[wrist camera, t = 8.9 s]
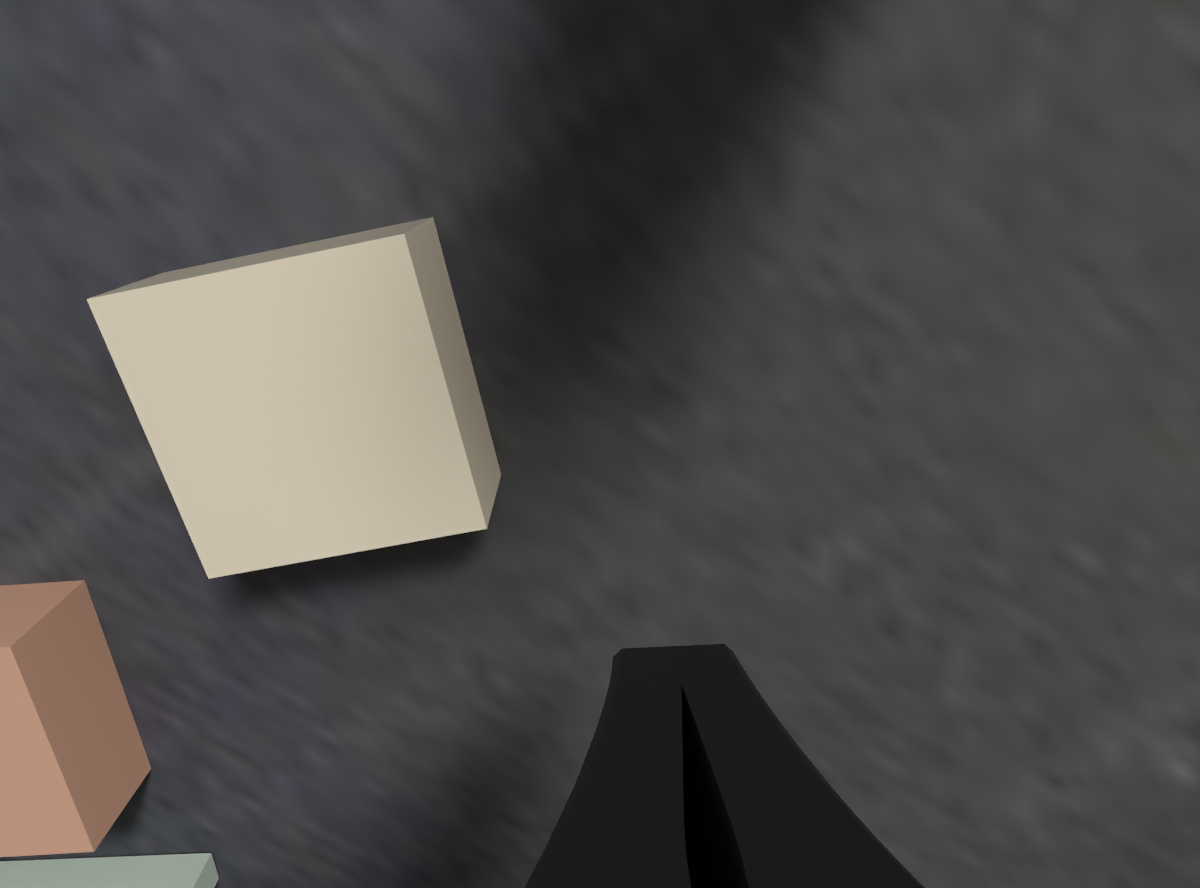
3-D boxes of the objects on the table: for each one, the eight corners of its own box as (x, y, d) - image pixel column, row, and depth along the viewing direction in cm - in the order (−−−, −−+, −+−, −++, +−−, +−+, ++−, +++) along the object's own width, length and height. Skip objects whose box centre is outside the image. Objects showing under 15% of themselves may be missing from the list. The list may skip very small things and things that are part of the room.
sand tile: (502, 470, 19) (486, 529, 16) (263, 514, 20) (208, 578, 17) (435, 215, 17) (404, 233, 14) (167, 271, 17) (86, 299, 15)
